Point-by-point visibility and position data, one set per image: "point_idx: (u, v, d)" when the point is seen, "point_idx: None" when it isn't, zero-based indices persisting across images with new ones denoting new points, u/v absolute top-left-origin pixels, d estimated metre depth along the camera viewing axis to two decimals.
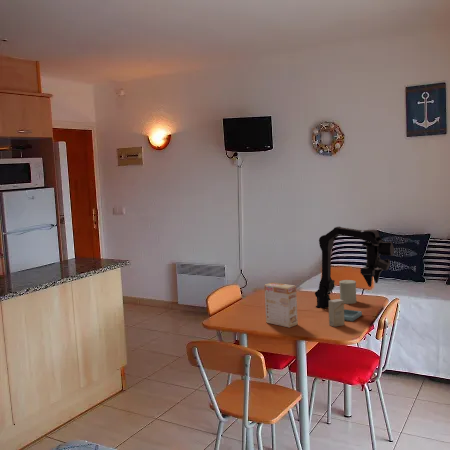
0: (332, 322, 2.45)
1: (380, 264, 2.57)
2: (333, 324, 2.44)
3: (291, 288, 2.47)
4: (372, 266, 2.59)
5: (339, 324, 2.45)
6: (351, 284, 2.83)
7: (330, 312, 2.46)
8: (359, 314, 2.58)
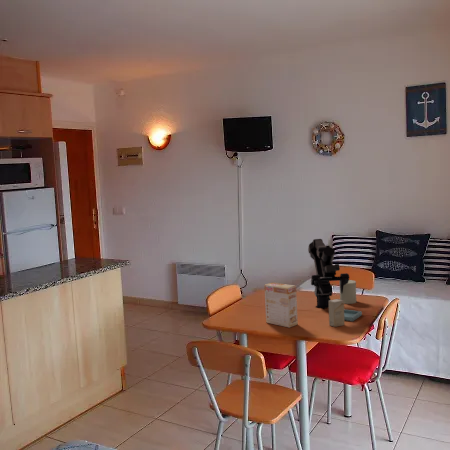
0: (332, 322, 2.45)
1: (325, 269, 2.57)
2: (333, 324, 2.44)
3: (291, 288, 2.47)
4: (324, 275, 2.59)
5: (339, 324, 2.45)
6: (351, 284, 2.83)
7: (330, 312, 2.46)
8: (359, 314, 2.58)
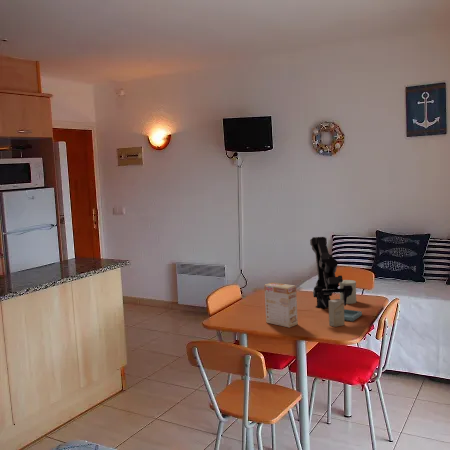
0: (332, 322, 2.45)
1: (328, 281, 2.51)
2: (333, 324, 2.44)
3: (291, 288, 2.47)
4: (326, 287, 2.53)
5: (339, 324, 2.45)
6: (351, 284, 2.83)
7: (330, 312, 2.46)
8: (359, 314, 2.58)
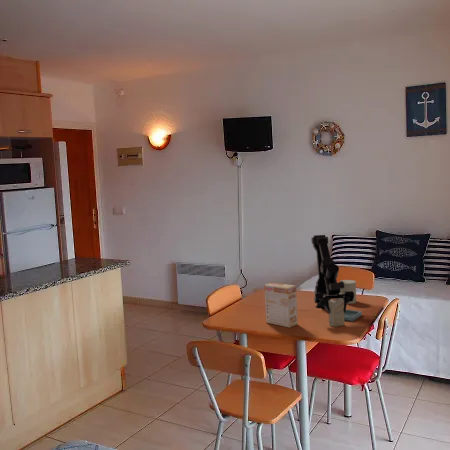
0: (332, 322, 2.45)
1: (329, 287, 2.48)
2: (333, 324, 2.44)
3: (291, 288, 2.47)
4: (328, 293, 2.51)
5: (339, 324, 2.45)
6: (351, 284, 2.83)
7: (330, 312, 2.46)
8: (359, 314, 2.58)
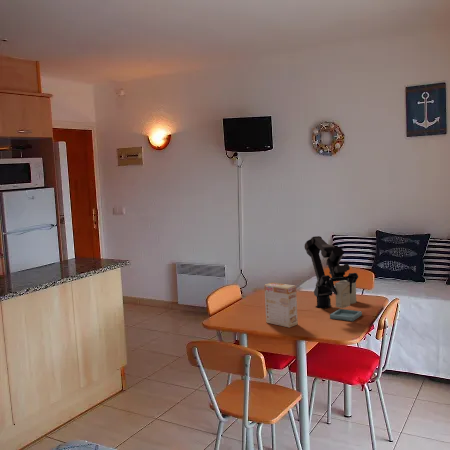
0: (340, 303, 2.51)
1: (335, 269, 2.54)
2: (340, 305, 2.51)
3: (291, 288, 2.47)
4: (333, 276, 2.56)
5: (346, 305, 2.52)
6: None
7: (337, 294, 2.52)
8: (359, 314, 2.58)
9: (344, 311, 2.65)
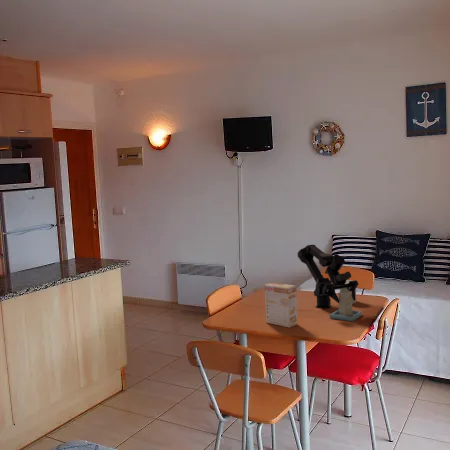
0: (343, 312, 2.57)
1: (337, 277, 2.60)
2: (344, 315, 2.56)
3: (291, 288, 2.47)
4: (335, 284, 2.62)
5: (349, 314, 2.58)
6: None
7: (340, 303, 2.57)
8: (359, 314, 2.58)
9: None
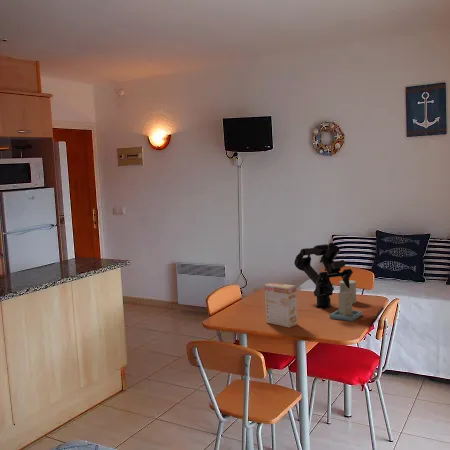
0: (343, 312, 2.57)
1: (331, 266, 2.64)
2: (344, 315, 2.56)
3: (291, 288, 2.47)
4: (329, 272, 2.66)
5: (349, 314, 2.58)
6: (351, 284, 2.83)
7: (340, 303, 2.57)
8: (359, 314, 2.58)
9: None
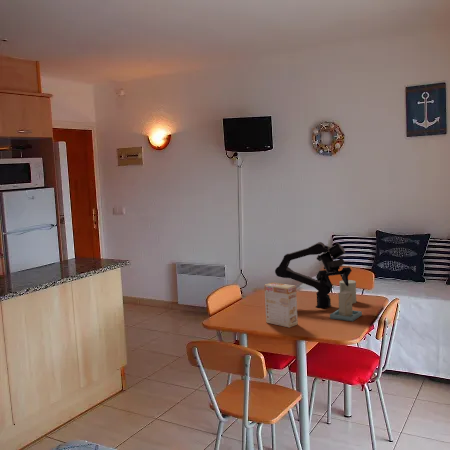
0: (343, 312, 2.57)
1: (330, 264, 2.69)
2: (344, 315, 2.56)
3: (291, 288, 2.47)
4: (328, 270, 2.71)
5: (349, 314, 2.58)
6: (351, 284, 2.83)
7: (340, 303, 2.57)
8: (359, 314, 2.58)
9: None
